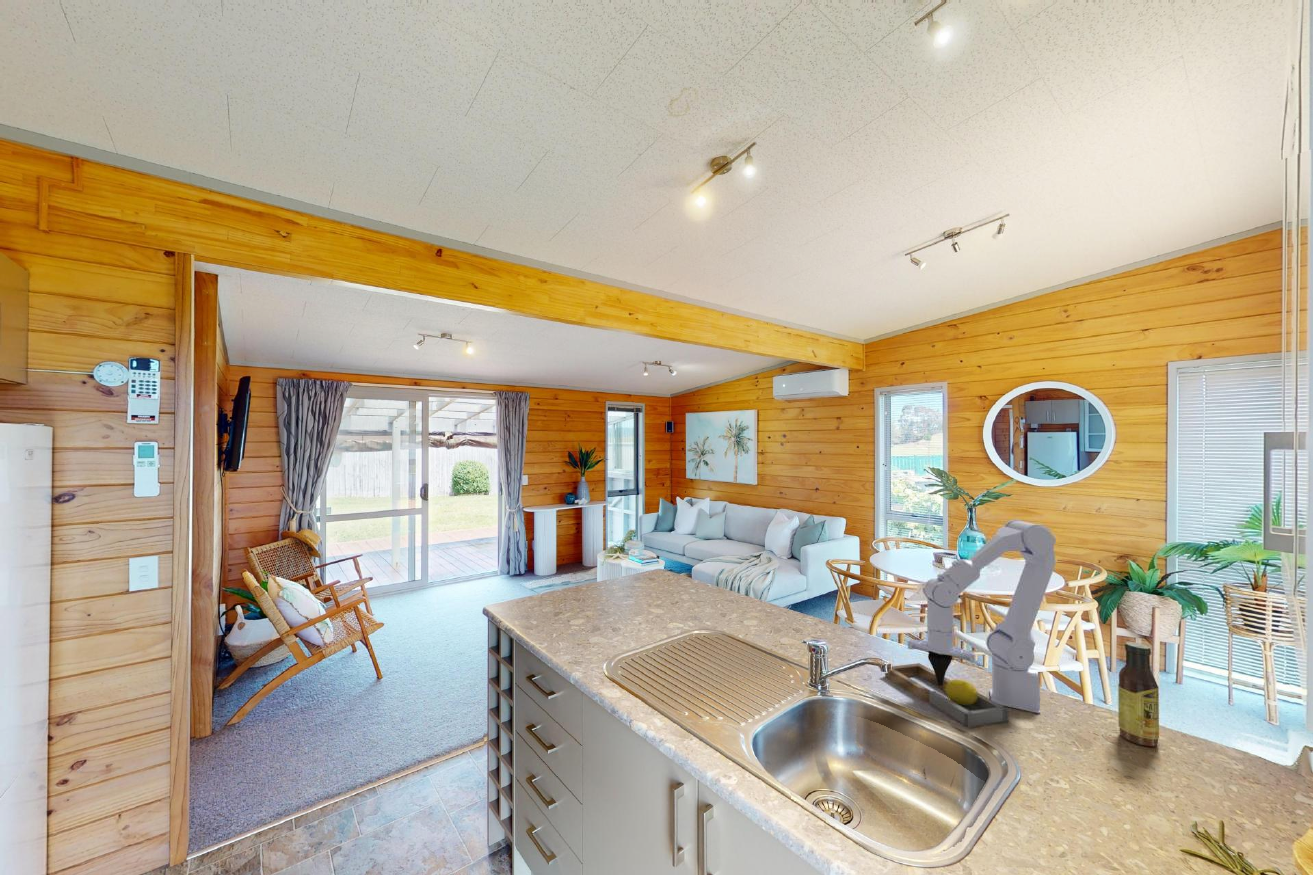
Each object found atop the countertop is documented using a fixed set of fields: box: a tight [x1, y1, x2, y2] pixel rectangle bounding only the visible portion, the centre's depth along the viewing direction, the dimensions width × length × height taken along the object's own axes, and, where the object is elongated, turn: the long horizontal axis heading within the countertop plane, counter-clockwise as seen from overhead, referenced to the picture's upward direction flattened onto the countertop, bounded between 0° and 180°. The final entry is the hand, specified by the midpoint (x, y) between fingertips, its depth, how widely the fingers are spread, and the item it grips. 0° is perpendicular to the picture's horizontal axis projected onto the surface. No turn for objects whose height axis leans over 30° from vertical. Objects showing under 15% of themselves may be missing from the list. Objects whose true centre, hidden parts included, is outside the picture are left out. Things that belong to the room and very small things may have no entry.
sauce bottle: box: [1117, 641, 1160, 747], centre depth 107 cm, size 6×6×20 cm
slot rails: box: [884, 663, 952, 705], centre depth 131 cm, size 16×11×2 cm
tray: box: [929, 690, 1009, 729], centre depth 118 cm, size 11×11×3 cm
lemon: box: [944, 678, 979, 705], centre depth 121 cm, size 6×6×8 cm
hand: (940, 683), depth 125 cm, fingers closed, pressing on lemon
